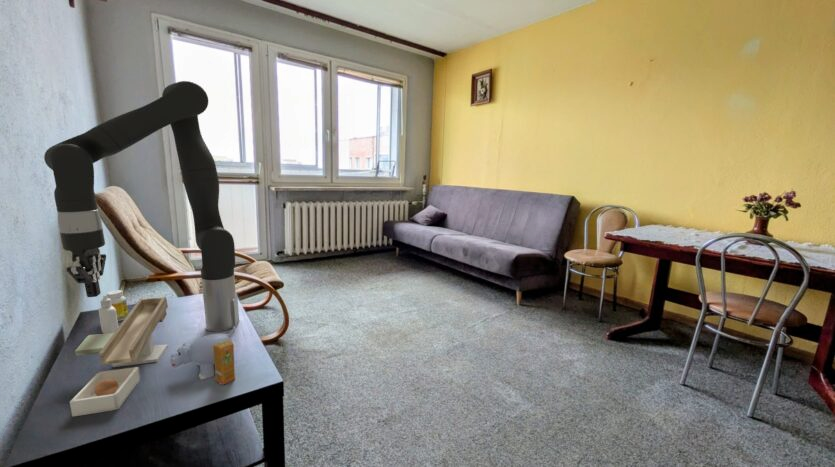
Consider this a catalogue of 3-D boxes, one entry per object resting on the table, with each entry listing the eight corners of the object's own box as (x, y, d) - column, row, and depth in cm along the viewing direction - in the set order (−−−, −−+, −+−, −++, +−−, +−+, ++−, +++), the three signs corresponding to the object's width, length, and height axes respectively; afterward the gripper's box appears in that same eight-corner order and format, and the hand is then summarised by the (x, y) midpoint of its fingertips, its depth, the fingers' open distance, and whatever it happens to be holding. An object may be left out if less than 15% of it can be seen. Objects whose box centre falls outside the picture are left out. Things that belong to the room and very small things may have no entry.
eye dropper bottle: (120, 326, 112) (115, 291, 109) (118, 333, 107) (113, 297, 105) (102, 329, 109) (96, 294, 107) (100, 337, 105) (93, 300, 103)
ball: (113, 378, 78) (111, 397, 76) (122, 376, 81) (120, 394, 80) (91, 381, 76) (89, 400, 75) (101, 379, 80) (99, 398, 79)
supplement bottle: (108, 318, 117) (104, 291, 116) (128, 314, 121) (124, 288, 119) (107, 323, 113) (103, 296, 111) (128, 319, 117) (124, 292, 115)
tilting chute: (169, 312, 107) (165, 296, 105) (137, 367, 86) (132, 349, 84) (119, 316, 103) (115, 300, 101) (73, 375, 82) (66, 357, 80)
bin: (140, 379, 86) (138, 366, 85) (118, 409, 75) (116, 395, 75) (100, 385, 83) (98, 372, 82) (72, 416, 73) (69, 401, 72)
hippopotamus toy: (171, 367, 91) (167, 334, 89) (234, 350, 100) (231, 319, 98) (173, 388, 83) (169, 352, 81) (242, 368, 92) (239, 335, 90)
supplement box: (223, 386, 84) (219, 348, 82) (215, 381, 86) (212, 344, 84) (236, 379, 87) (233, 342, 85) (228, 374, 88) (225, 338, 87)
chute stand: (168, 346, 101) (165, 326, 99) (157, 361, 93) (154, 339, 92) (126, 351, 98) (123, 330, 96) (112, 367, 90) (108, 344, 89)
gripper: (86, 233, 79) (99, 304, 82) (113, 223, 91) (123, 285, 95) (43, 235, 76) (58, 308, 80) (77, 224, 89) (89, 288, 92)
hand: (94, 295), depth 87 cm, fingers closed
